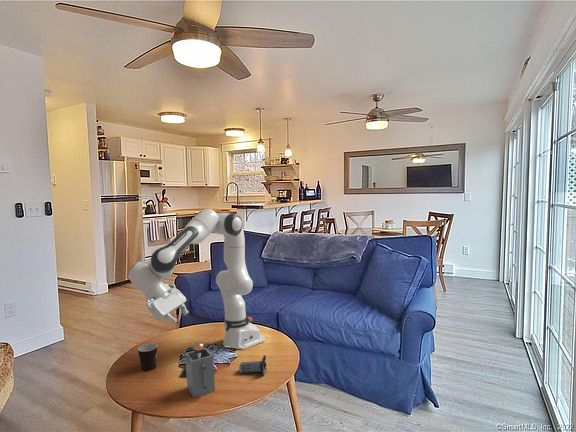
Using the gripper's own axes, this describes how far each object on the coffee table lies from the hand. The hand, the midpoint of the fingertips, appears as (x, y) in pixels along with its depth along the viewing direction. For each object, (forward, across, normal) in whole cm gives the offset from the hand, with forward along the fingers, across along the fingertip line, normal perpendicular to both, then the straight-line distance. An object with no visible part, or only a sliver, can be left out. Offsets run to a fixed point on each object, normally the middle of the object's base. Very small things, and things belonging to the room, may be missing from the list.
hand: (181, 318), depth 148 cm
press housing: (+27, -1, +16) cm, 31 cm away
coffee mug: (+3, +15, +40) cm, 42 cm away
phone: (+19, +15, +25) cm, 35 cm away
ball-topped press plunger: (+22, 0, +12) cm, 26 cm away
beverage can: (+39, +16, +4) cm, 43 cm away
